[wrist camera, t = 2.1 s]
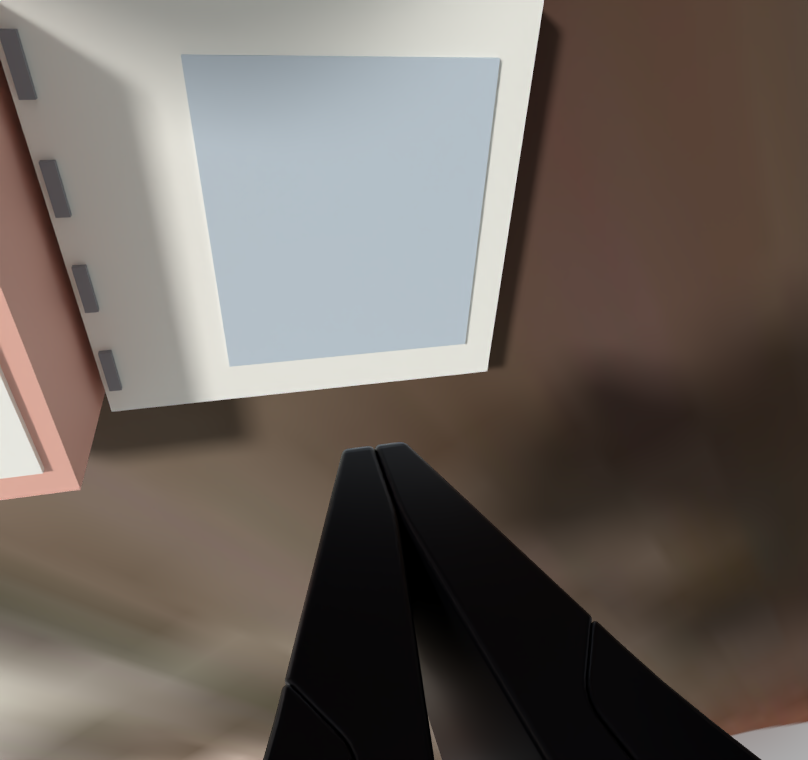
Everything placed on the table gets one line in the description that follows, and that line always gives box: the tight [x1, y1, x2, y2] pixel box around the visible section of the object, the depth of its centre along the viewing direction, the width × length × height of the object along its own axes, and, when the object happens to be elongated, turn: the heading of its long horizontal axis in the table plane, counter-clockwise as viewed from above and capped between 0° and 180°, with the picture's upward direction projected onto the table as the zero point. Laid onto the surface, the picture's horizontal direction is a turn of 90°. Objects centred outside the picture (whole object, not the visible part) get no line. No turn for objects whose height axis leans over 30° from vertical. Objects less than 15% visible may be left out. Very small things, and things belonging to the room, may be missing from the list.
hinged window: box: [0, 0, 544, 412], centre depth 15 cm, size 11×10×1 cm
